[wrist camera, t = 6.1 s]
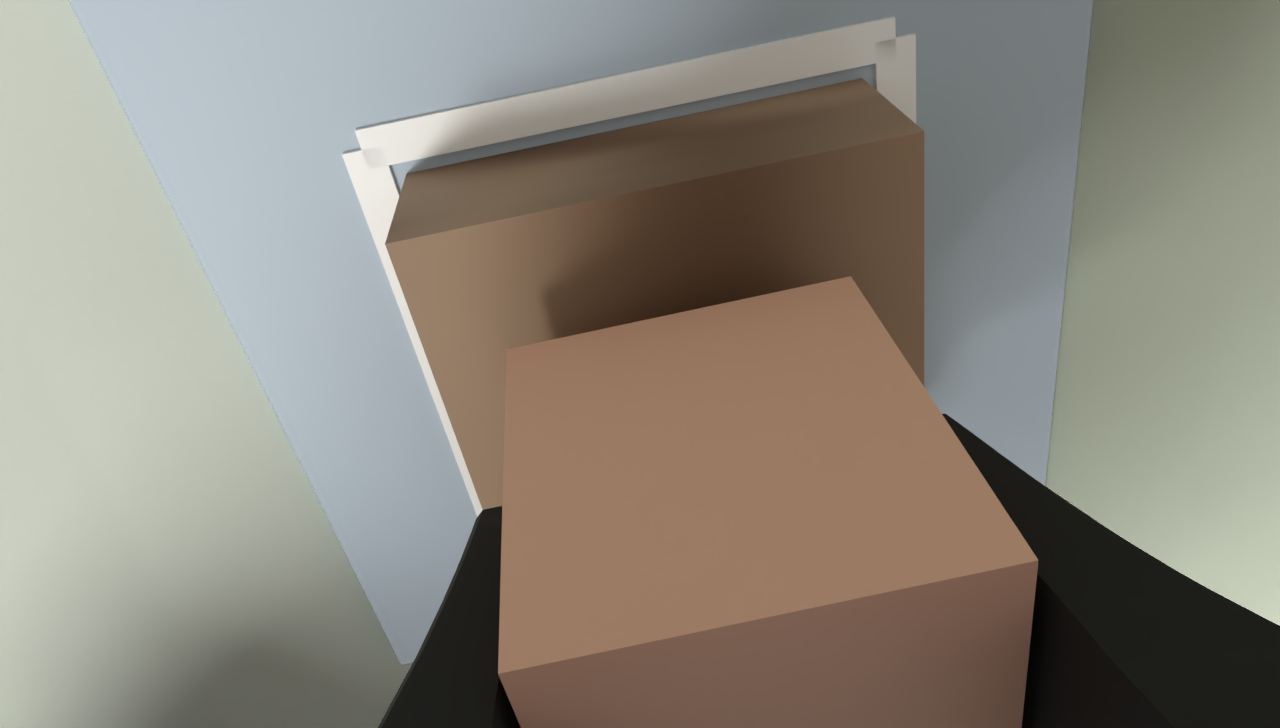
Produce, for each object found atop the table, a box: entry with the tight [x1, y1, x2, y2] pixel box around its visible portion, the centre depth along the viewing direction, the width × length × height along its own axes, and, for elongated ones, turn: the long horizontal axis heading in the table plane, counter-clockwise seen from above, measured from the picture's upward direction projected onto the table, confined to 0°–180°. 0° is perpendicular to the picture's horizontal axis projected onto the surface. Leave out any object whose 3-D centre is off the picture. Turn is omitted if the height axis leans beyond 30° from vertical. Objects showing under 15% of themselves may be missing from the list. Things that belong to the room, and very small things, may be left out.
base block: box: [385, 78, 924, 510], centre depth 14 cm, size 7×7×2 cm
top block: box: [498, 276, 1038, 728], centre depth 11 cm, size 4×4×5 cm
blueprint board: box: [68, 0, 1093, 665], centre depth 16 cm, size 14×14×1 cm
